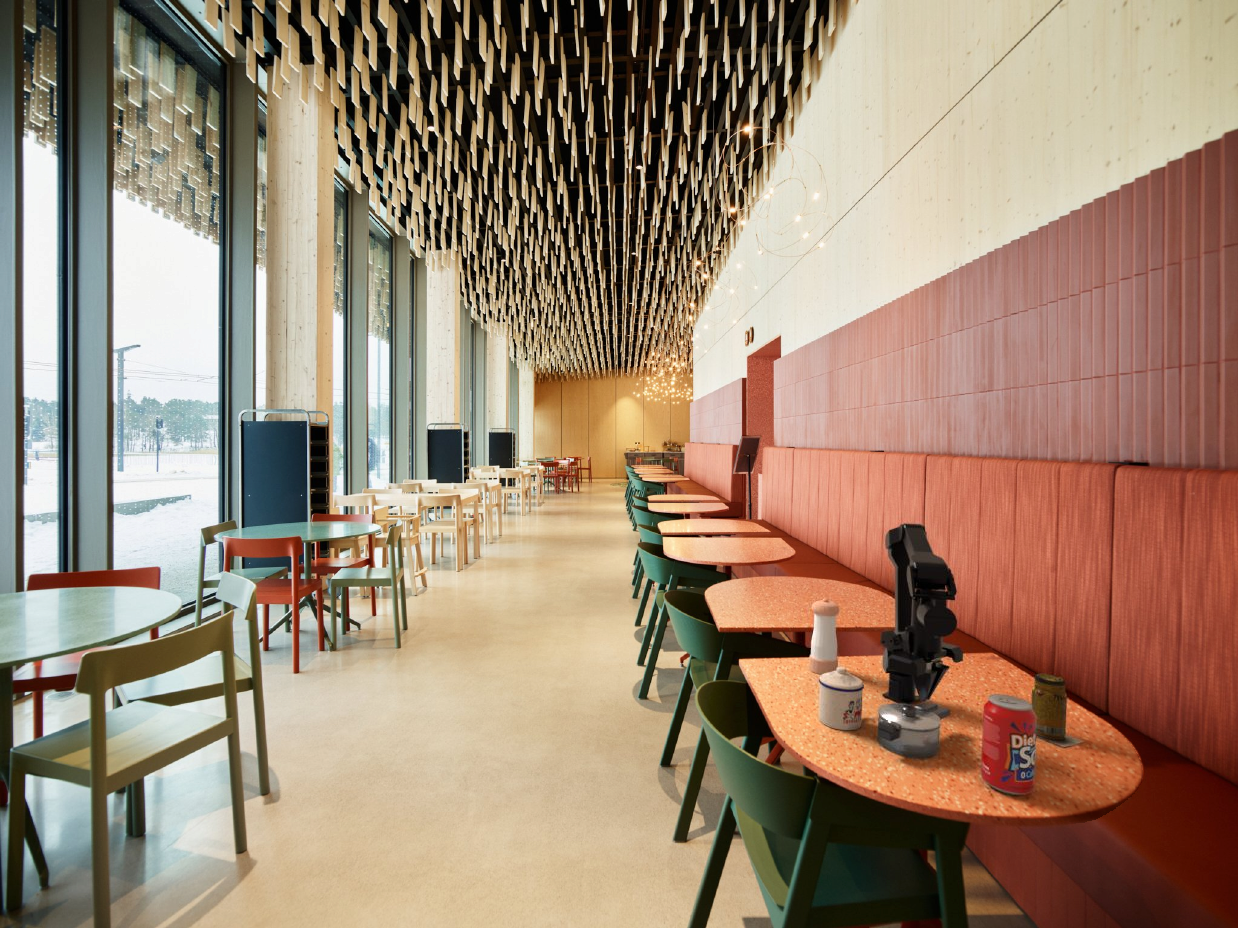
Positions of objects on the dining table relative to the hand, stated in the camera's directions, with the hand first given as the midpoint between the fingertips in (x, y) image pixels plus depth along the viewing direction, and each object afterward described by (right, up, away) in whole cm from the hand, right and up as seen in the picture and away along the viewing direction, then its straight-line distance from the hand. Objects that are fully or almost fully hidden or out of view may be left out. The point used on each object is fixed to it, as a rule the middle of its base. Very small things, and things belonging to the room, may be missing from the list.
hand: (924, 699), depth 126 cm
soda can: (+6, -9, -18) cm, 20 cm away
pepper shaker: (-8, -7, +39) cm, 41 cm away
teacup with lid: (-14, -8, +8) cm, 17 cm away
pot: (-3, -8, -1) cm, 8 cm away
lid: (-4, -3, -2) cm, 5 cm away
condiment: (+28, -9, +3) cm, 29 cm away
